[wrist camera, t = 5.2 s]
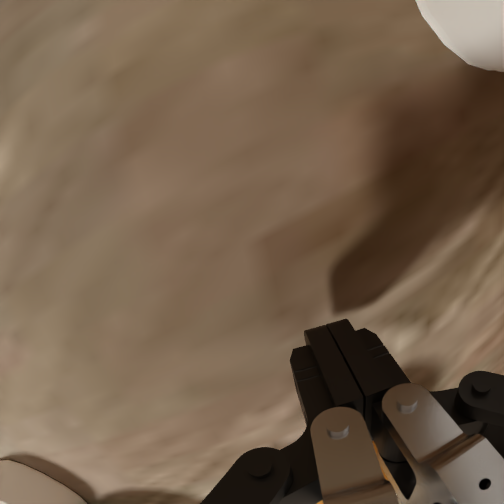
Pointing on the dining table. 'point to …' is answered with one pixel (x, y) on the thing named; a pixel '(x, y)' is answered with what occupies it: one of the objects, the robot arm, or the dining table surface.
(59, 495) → the inkwell
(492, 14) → the foam cup
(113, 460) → the dining table surface
